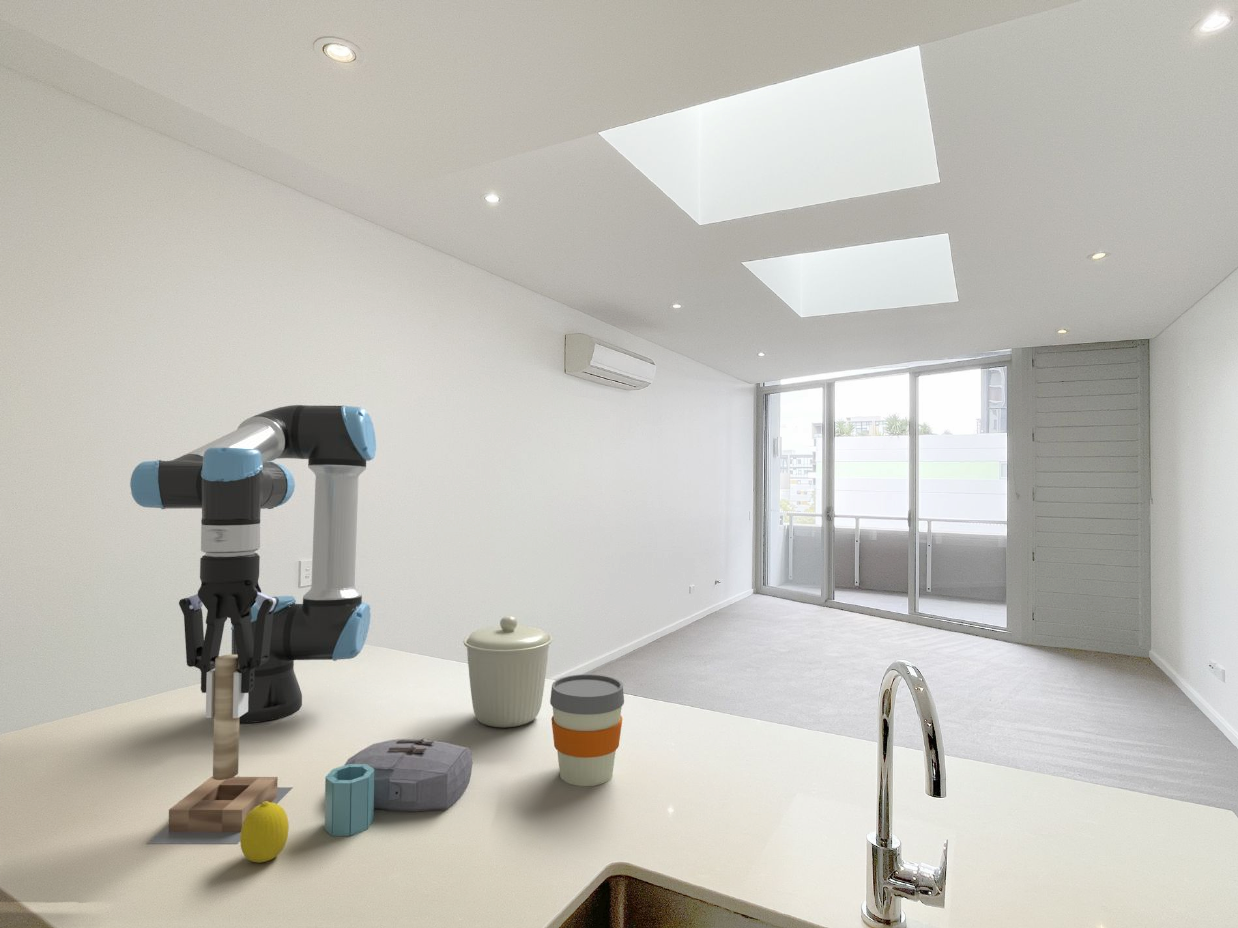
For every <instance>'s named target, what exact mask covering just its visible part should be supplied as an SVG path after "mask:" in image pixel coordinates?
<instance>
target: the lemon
mask: <svg viewBox="0 0 1238 928" xmlns="http://www.w3.org/2000/svg"><path fill="white" fill-rule="evenodd" d="M289 827H290V826H289V819H288V816H287V813H286V811H285V809H284V808H283V806H281V805H280V804H278V803H277V804H276V803H271V802H268V801H264V802H263V803H262V804H260V805H258V806H256V807H255V808H254V809H252V810H251V811H250V812H249V814H248V815H247V816H246V818H245V820H244V822H243V825H242V829H241V835H240V842H239V843H240V847H241V848H240V849H241V852H242V853H243V856H245V858H246V859H247V860H248V861H250V862H253V863H259V864H260V863H265V862H266V863H267V862H269V861H271V860H273V859H274V858H276V857H277V856H278V855H279V854H280V853H281V852H282V850H283V849H284V847H285V846H286V843H287V842H288V841H287V840H288V837H289Z"/></svg>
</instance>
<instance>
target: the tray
mask: <svg viewBox="0 0 1238 928" xmlns="http://www.w3.org/2000/svg"><path fill="white" fill-rule="evenodd" d="M293 788H294V787H289V786H288V787H282V786H281V787H279V786H277V797H276V798H275V799H274V800H273V801H272V802H271V803H276V804H278V803H280V801H281V800H283V798H284V797H286V795H287V794H288V793H289V792H290V791H291V790H292V789H293ZM168 830H169V825H167V826H166V827H165V828H164V829H162V830H161V831H160V832H159V833H157V834H156V835H155V836H153V837H152V839H150V840H149V841H148V842H146V843H145V844H146V845H238V844H239V843H240V835H241V832H168Z"/></svg>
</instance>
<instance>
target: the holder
mask: <svg viewBox="0 0 1238 928" xmlns="http://www.w3.org/2000/svg"><path fill="white" fill-rule="evenodd" d="M277 787H278V776H234V777H232V778H229V779H225V780H215V779H213V776H211V777H209V778H208V779H207V780H206V781H204V782H203V783H202V784H200V785H199V786H197V787H196V788H195V789H194V790H192V791H191V792H189V793H188V795H186V796H185V797H183V798H182V799H181V800H179V801H178V802H177V803H176V804H175V805H173V806H171V808H169V809H168V826H169V830H168V832H241V829H242V825H243V822H244V820H245V818H246V816H247V815H248V814H249V812H250V811H251V810H252V809H254V808H255V807H256V806H258V805H260V804H262V803H263V802H264V801H268V802H272V801H273V800H274V799H275V798H276V797H277Z"/></svg>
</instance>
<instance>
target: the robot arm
mask: <svg viewBox="0 0 1238 928" xmlns="http://www.w3.org/2000/svg"><path fill="white" fill-rule="evenodd" d="M376 438H377V437H376V432H375V427H374V424H373V421H372V417H371V415H370V414H369V412H368V411H367V410H366V409H364V408H363V407H359V406H349V405H303V404H294V405H293V404H291V405H286V406H280V407H276V408H273V409H269V410H267V411H263V412H260V413H258V414H255V415H253V416H251V417H248V418H247V419H244V420H243V421H242V422H240V423H239V425H238V426H237V429H236V430H234V431H232V432H230V433H228V434H224V435H223V436H221V437H219V438H217V439H215V440H212V441H211V442H208V443H206V444H204V445H202V446H200V447H198V448H196V449H194V450H192V451H190V452H188V453H186V454H183V455H180V456H179V457H177V458H175V459H172V460H161V459H157V460H147V461H142V462H140V463H139V464H137V465H136V467H135V468H134V469H133V471H132V473H131V477H130V482H129V485H130V491H131V492H130V494H131V496H132V498H133V500H134V501H135V503H136V504H138V506H140V507H143V508H149V509H152V508H154V509H161V510H167V509H173V510H174V509H201V521H200V522H201V525H200V527H201V528H200V551H201V552H202V553H204V554H203V555H202V556H201V557H200V559H199V561H200V562H199V567H200V568H199V579H200V582H201V584H200V587H199V589H198V590H197V593H196V594H193V595H190V596H187V597H185V598H181V599H179V601H178V605H179V607H180V610H181V613H182V614H183V622H184V625H183V626H184V639H185V657H186V658H185V659H186V666H187V667H189V668H193V667H194V668H197V669H199V671H200V691H201V694H205V719H211V718H214V697H215V658H217V657H219V656H220V651H221V645H222V640H223V635H224V634H223V633H224V628H225V625H226V624H225V623H226V621H227V619H228V618H229V619H230V624H231V626H230V627H231V628H230V630H231V655H238V662H239V669H237V671H236V672H234V682H233V718H239V724H240V723H242V724H246V723H247V724H249V723H260V722H265V721H266V722H267V721H272V720H276V719H281V718H283V717H287V716H289V715H291V714H293V713H296V712H298V711H299V709H300V710H301V708H302V706H303V694H302V690H301V688H300V685H299V682H298V679H297V676H296V673H295V670H294V669H295V667H294V664H295V663H294V661H321V660H323V661H325V660H327V661H328V660H331V661H335V662H336V661H339V660H350V659H354V658H355V657H357V656H358V655H359V654H360V653H361V651H362V650H363V648H364V645H365V643H366V641H367V637H368V633H369V630H370V623H371V616H372V615H371V606H370V605H369V604H368V603H366V602H364V601H363V599H362V598H363V594H362V593H361V591H359V589H357V588H356V584H355V583H356V582H355V581H356V559H357V558H356V557H357V554H356V553H357V526H358V525H357V524H358V497H359V477H360V475H361V474H362V473H364V472H365V470H366V469H367V462H369V461H372V460H374V458H375V456H376V450H377V440H376ZM278 459H279V460H280V459H298V460H308V461H307V462H308V463H307V466H308V467H307V468H308V469H309V470H310V471H311V472H313V474H314V476H315V479H314V481H315V483H314V506H313V507H314V511H313V512H314V513H313V533H312V534H313V535H312V539H313V540H312V559H311V560H312V562H311V584H310V585H311V587H310V589H309V590H307V592H305V594H303V597H302V603H296V601H297V600H296V598H295V597H294V596H293V595H280V596H272V597H271V596H269V595H267V594H265V593H262V589H261V586H260V585H259V579H260V578H259V577H260V563H261V562H260V561H261V560H260V558H261V557H260V555H259V553H257V552H256V551H258V550H259V549H261V510H262V509H263V510H264V509H267V510H272V509H274V508H278V507H279V506H282V505H284V504H286V503H287V502H288V501H289V500H290V499H291V498H292V497H293V494H294V491H295V488H296V487H295V486H296V483H295V479H294V478H295V477H294V476H293V474H292V473H291V471H290V470H289V469H288V468H287V467H286V466H284V465H282V464H280V463H276V462H273V461H275V460H278ZM202 606H204V607H205V609H206V611H207V612H206V619H205V625H206V628H205V633H204V617H203V609H202Z"/></svg>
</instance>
